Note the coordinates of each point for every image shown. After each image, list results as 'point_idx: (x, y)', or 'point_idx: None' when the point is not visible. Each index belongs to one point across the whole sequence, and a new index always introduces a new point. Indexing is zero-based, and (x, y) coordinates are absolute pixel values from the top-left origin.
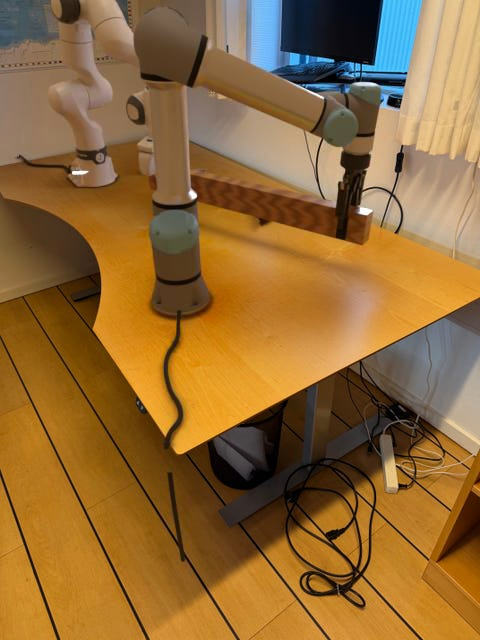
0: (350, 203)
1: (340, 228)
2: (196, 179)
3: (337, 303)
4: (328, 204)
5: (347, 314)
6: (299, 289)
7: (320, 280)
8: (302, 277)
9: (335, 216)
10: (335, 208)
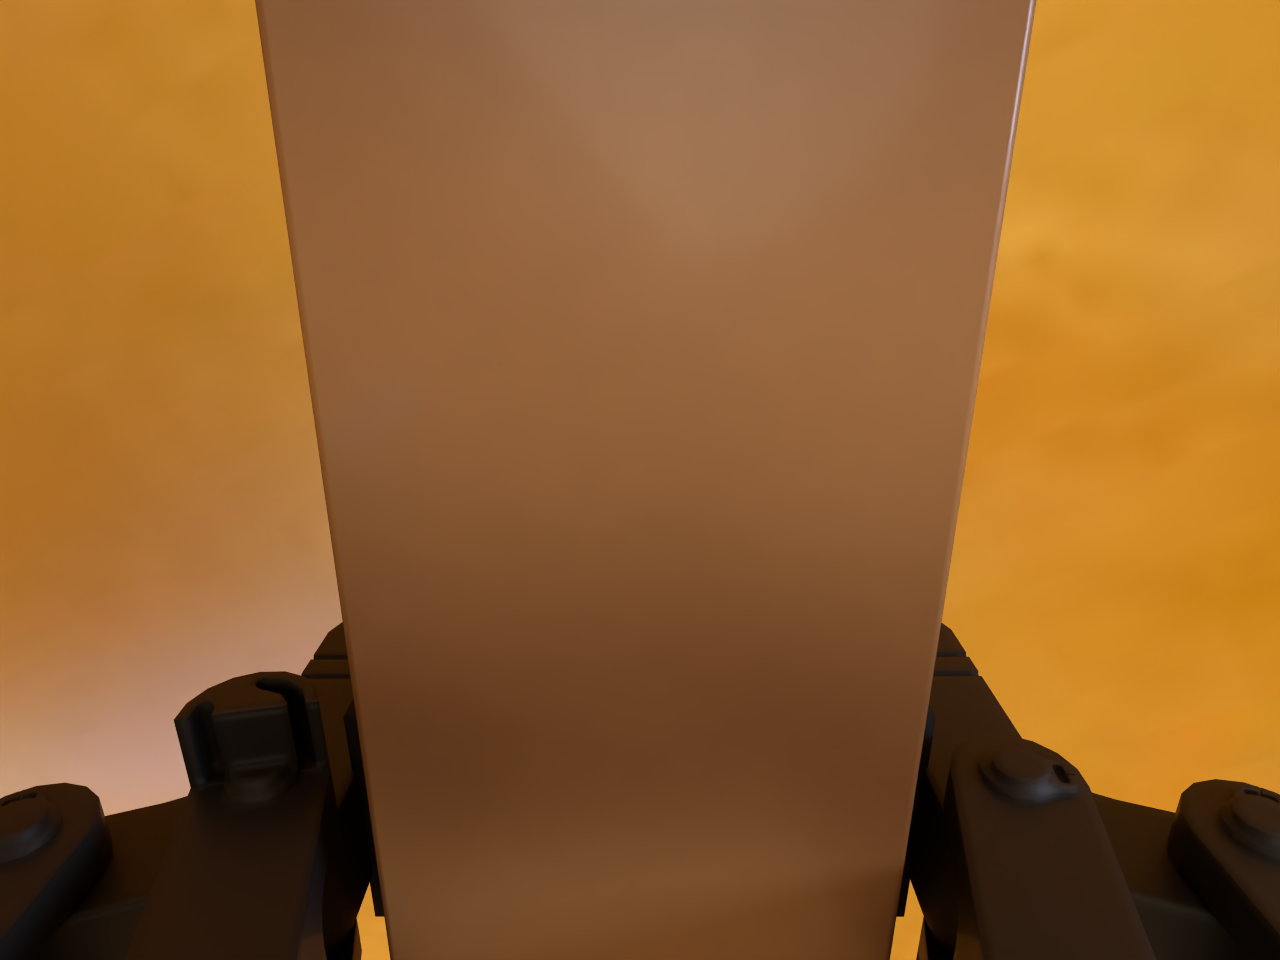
0: (959, 939)
1: None
2: None
3: (88, 620)
4: (507, 332)
5: (26, 726)
6: (10, 257)
7: (289, 352)
8: (212, 167)
9: (23, 801)
10: (355, 688)
